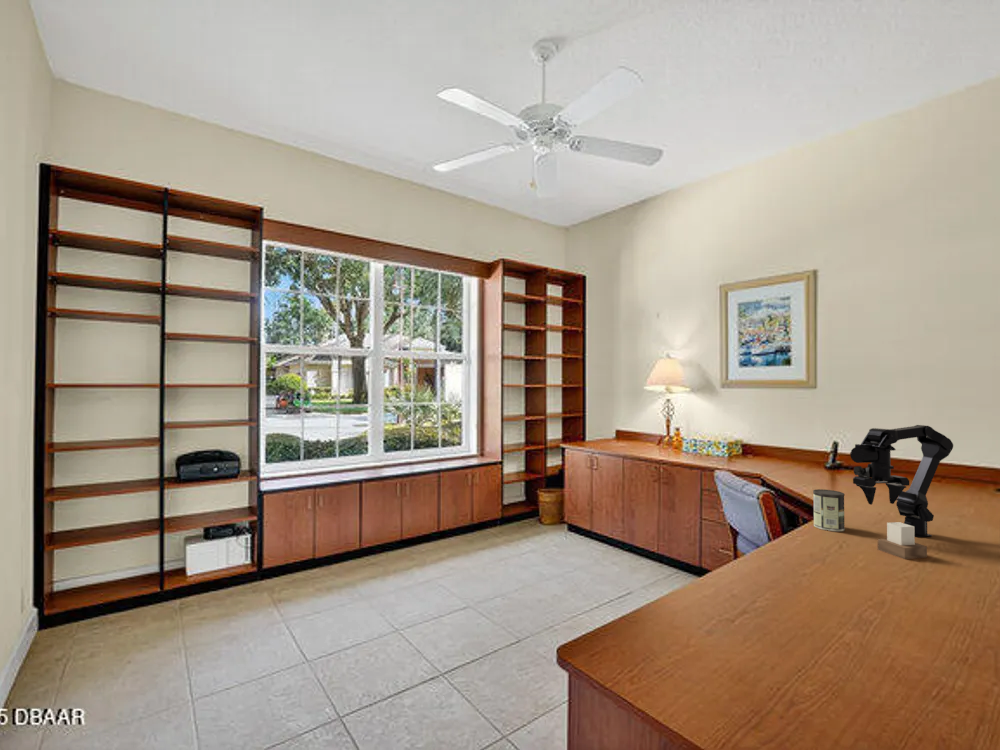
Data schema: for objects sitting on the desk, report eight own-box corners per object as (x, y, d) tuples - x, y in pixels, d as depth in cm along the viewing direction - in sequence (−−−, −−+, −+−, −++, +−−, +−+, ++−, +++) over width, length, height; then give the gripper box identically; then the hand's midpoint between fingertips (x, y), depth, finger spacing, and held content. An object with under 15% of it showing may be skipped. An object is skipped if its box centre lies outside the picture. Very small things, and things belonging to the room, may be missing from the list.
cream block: (900, 539, 162) (899, 522, 162) (914, 544, 157) (914, 526, 157) (887, 540, 161) (887, 522, 162) (901, 545, 156) (901, 527, 157)
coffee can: (833, 523, 192) (832, 489, 193) (851, 531, 182) (851, 495, 182) (807, 523, 193) (807, 488, 193) (824, 531, 182) (824, 494, 183)
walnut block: (898, 549, 164) (898, 537, 164) (926, 558, 156) (926, 546, 156) (877, 550, 163) (877, 539, 163) (904, 560, 154) (904, 548, 154)
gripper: (882, 458, 187) (882, 498, 187) (840, 459, 184) (840, 499, 184) (910, 463, 176) (910, 505, 176) (866, 464, 173) (866, 506, 173)
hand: (881, 503), depth 177 cm, fingers open, 9 cm apart
